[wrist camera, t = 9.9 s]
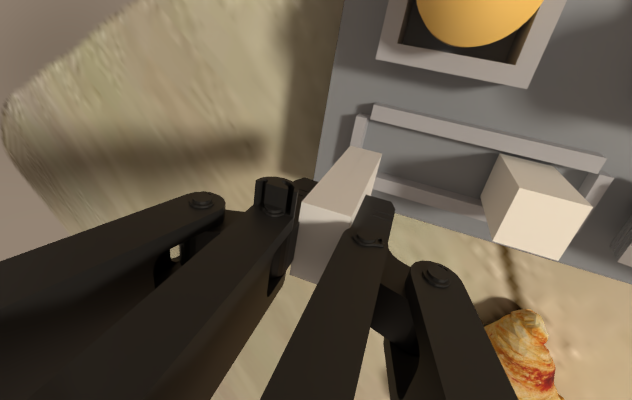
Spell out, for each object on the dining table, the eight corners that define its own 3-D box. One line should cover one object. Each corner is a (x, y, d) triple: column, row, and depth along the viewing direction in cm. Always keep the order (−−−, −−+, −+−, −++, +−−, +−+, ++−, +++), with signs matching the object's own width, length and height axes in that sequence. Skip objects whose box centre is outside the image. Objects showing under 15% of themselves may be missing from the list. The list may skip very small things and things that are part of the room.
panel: (329, 169, 25) (297, 203, 20) (380, -94, 18) (353, -160, 12) (692, 272, 20) (791, 359, 14) (976, -41, 13) (1406, -113, 7)
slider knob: (480, 196, 18) (492, 241, 14) (499, 153, 17) (519, 187, 13) (529, 210, 18) (558, 260, 13) (553, 166, 17) (593, 207, 12)
